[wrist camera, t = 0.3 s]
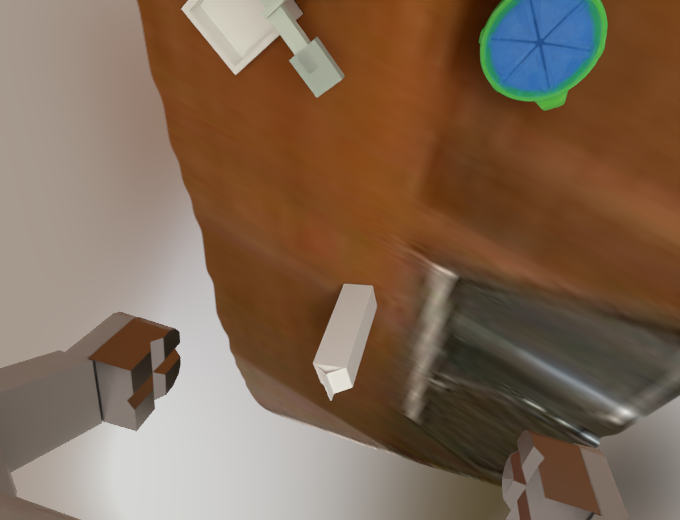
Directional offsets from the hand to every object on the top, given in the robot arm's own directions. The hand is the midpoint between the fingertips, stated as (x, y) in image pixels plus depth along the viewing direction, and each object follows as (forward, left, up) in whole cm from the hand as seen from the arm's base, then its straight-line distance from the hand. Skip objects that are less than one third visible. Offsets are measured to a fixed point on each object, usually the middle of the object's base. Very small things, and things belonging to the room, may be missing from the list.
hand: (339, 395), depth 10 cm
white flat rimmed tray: (+25, -12, -50) cm, 57 cm away
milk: (+43, +37, -50) cm, 76 cm away
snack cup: (-3, +8, -50) cm, 51 cm away
